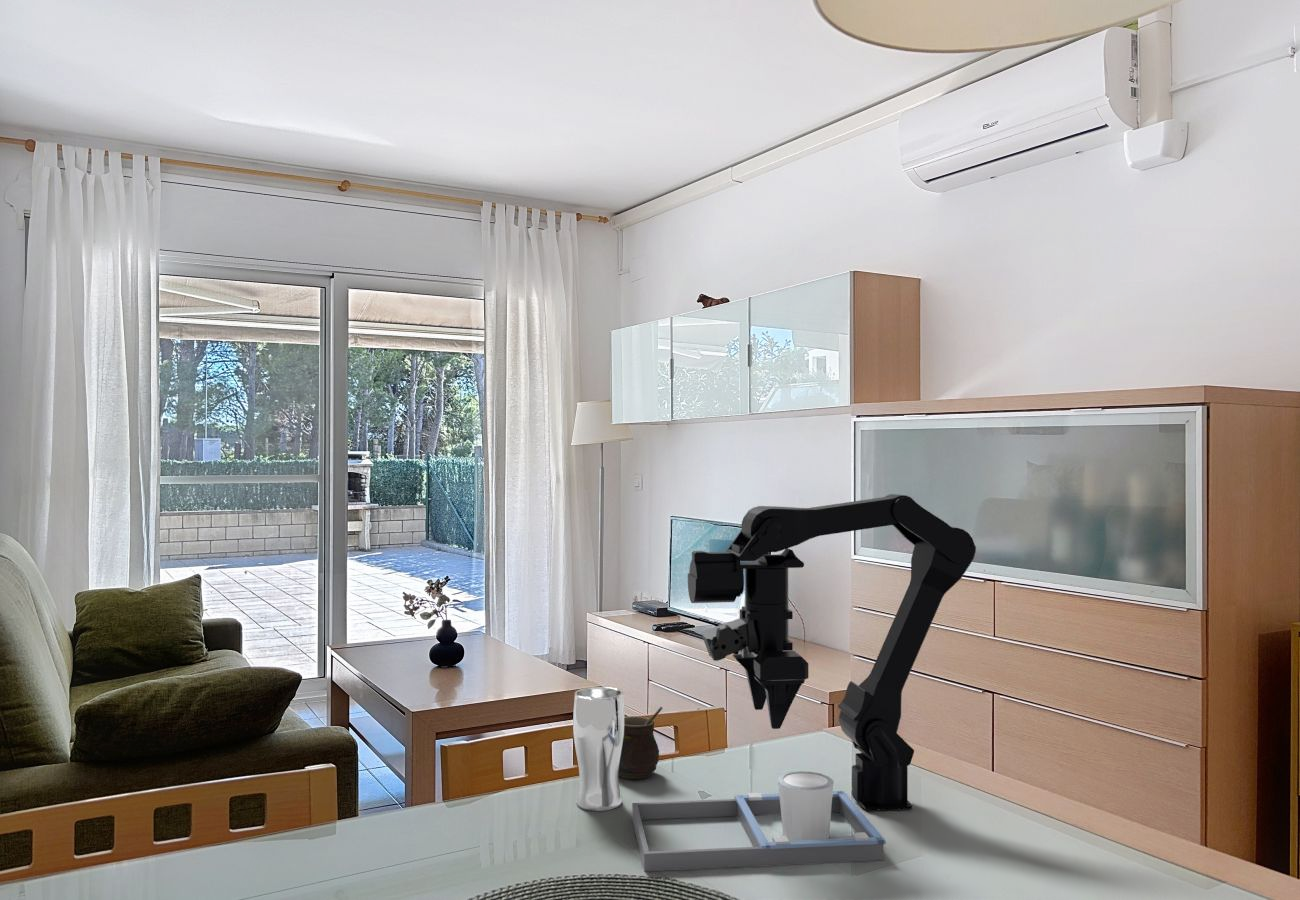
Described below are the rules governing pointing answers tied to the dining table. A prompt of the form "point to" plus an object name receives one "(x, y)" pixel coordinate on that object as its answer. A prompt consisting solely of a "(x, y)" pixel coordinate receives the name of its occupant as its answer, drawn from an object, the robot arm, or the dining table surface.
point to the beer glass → (598, 746)
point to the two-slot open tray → (756, 835)
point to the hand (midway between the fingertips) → (766, 718)
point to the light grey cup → (805, 805)
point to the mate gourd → (639, 748)
